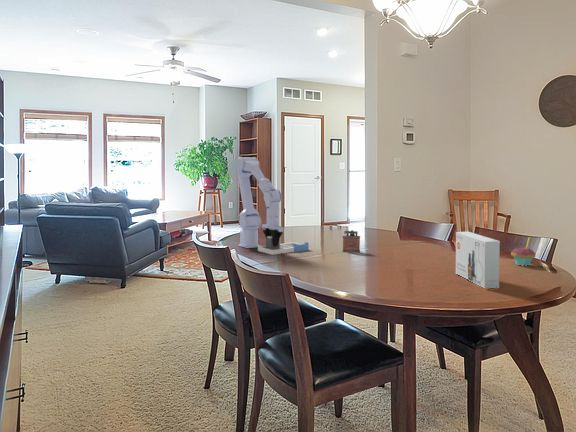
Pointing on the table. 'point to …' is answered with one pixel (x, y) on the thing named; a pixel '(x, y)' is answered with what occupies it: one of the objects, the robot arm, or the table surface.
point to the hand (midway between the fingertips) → (272, 245)
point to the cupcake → (523, 255)
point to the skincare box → (478, 259)
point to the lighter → (351, 242)
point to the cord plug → (271, 243)
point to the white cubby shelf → (285, 248)
